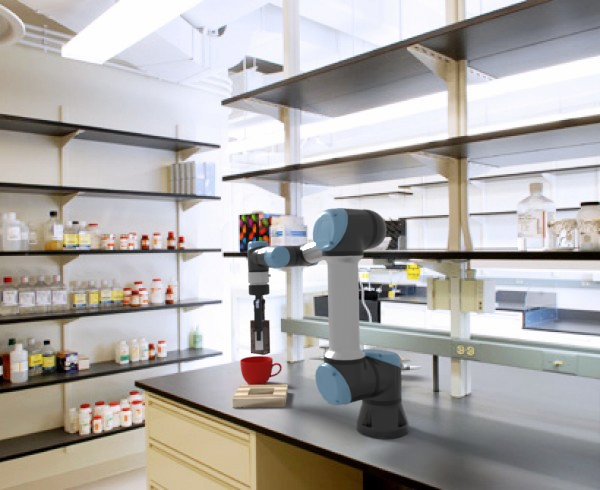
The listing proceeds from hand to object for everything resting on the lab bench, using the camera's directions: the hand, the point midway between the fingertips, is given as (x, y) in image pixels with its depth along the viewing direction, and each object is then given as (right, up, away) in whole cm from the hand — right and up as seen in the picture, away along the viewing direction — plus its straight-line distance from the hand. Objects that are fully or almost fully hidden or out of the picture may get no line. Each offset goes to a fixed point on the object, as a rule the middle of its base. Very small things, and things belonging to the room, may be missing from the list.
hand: (260, 347), depth 177 cm
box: (0, -2, 0) cm, 2 cm away
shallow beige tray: (0, -19, 0) cm, 19 cm away
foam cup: (+46, -18, +30) cm, 58 cm away
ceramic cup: (-1, -19, +20) cm, 28 cm away
